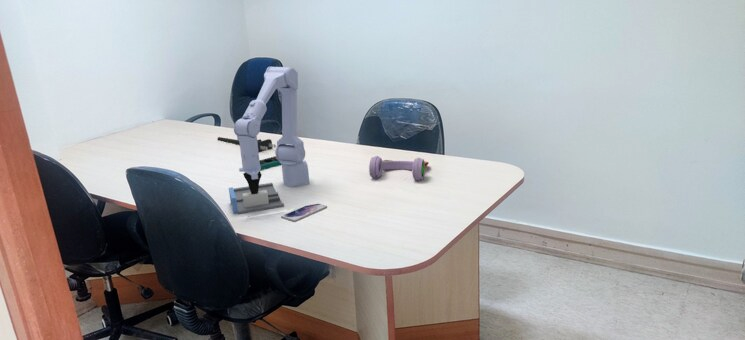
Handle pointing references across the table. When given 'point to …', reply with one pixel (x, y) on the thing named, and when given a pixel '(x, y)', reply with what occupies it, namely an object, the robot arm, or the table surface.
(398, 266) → the table surface
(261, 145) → the electrical plug
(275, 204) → the board
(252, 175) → the robot arm
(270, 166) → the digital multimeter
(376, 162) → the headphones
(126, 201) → the table surface
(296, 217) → the smartphone
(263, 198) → the light grey long block
